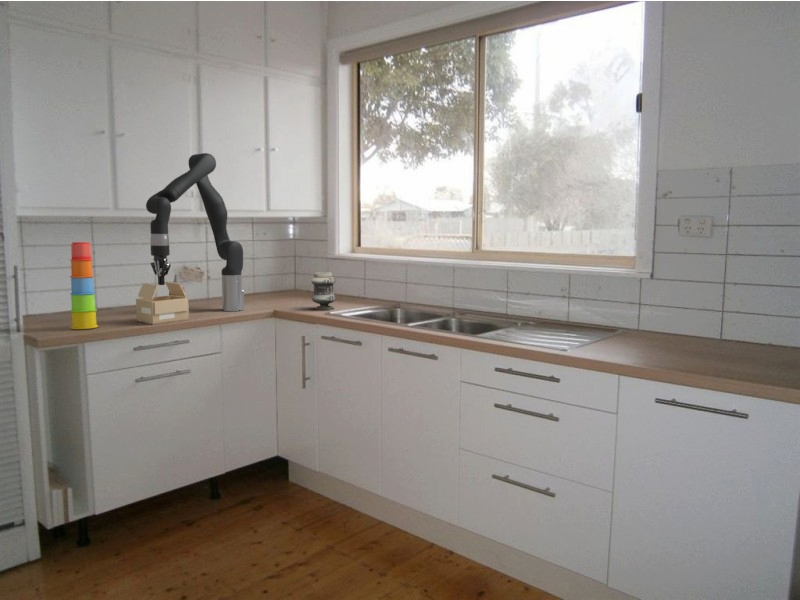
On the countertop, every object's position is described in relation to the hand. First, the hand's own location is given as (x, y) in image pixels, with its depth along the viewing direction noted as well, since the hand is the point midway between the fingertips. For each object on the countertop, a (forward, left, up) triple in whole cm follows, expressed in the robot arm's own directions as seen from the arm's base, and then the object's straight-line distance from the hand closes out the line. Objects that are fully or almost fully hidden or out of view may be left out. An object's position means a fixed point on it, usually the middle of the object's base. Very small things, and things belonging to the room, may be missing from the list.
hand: (161, 284), depth 275 cm
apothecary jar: (-71, +26, -16) cm, 77 cm away
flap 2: (-8, 0, -6) cm, 10 cm away
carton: (0, 0, -16) cm, 16 cm away
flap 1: (+8, 0, -6) cm, 10 cm away
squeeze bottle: (-17, -16, -16) cm, 28 cm away
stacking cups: (+30, -6, -16) cm, 35 cm away
